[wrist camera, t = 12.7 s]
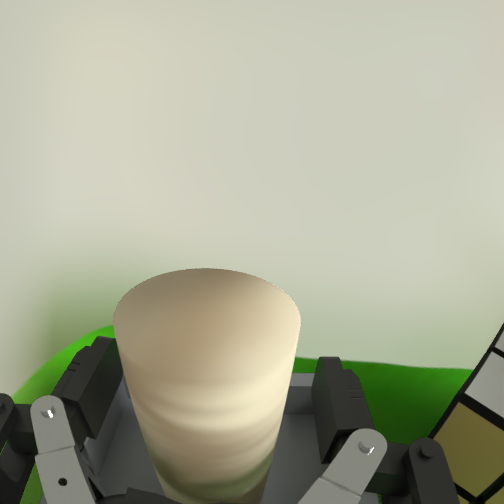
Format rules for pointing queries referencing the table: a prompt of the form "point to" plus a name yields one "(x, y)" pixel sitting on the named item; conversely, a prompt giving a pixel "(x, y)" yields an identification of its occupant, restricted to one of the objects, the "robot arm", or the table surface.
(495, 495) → the puzzle cube
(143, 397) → the wooden canister
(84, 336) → the table surface
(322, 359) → the robot arm
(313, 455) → the tray
